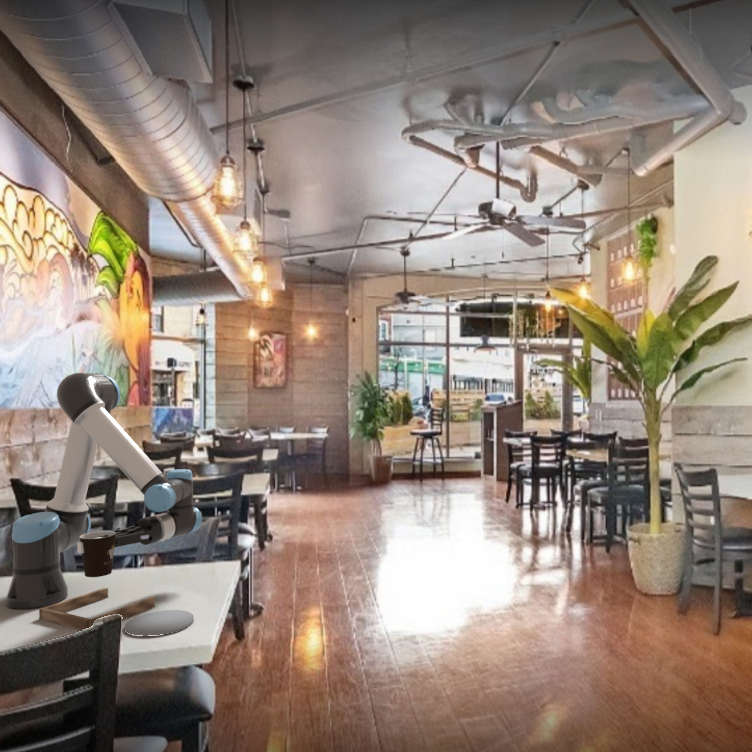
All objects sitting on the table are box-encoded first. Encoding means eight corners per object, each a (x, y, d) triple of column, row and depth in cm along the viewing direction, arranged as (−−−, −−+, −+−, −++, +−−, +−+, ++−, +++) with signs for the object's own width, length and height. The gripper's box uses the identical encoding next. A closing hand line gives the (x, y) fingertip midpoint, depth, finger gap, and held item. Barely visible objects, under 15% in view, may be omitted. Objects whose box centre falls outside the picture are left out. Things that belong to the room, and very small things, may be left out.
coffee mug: (96, 580, 160) (95, 540, 160) (72, 576, 163) (72, 537, 164) (132, 567, 170) (131, 530, 170) (109, 564, 174) (108, 527, 174)
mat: (129, 617, 162) (129, 614, 162) (194, 610, 165) (194, 606, 165) (119, 640, 146) (119, 637, 146) (192, 632, 150) (192, 628, 150)
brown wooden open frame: (105, 596, 179) (105, 587, 179) (154, 607, 169) (154, 597, 169) (39, 618, 163) (39, 608, 163) (89, 631, 152) (89, 621, 152)
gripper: (170, 544, 179) (95, 565, 158) (139, 540, 185) (63, 560, 165) (169, 517, 179) (94, 535, 159) (138, 514, 186) (63, 531, 165)
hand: (79, 548), depth 162 cm, fingers closed
